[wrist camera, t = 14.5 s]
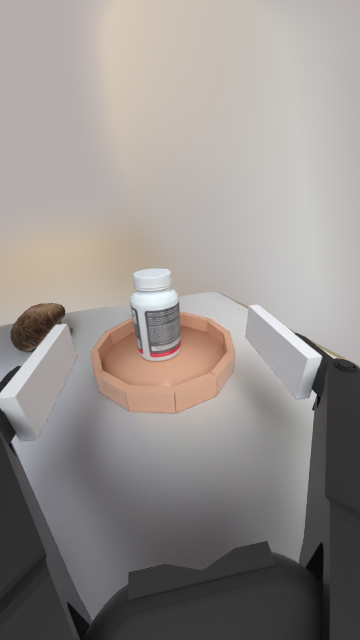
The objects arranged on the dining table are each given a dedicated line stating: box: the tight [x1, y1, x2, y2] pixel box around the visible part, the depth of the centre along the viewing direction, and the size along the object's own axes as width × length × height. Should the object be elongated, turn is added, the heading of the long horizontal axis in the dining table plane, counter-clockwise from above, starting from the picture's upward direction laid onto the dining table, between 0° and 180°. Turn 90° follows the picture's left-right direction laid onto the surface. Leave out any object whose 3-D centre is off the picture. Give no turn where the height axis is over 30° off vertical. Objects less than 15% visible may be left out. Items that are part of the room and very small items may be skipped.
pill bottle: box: [130, 268, 181, 361], centre depth 25 cm, size 5×5×10 cm
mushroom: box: [11, 303, 73, 351], centre depth 30 cm, size 8×8×6 cm
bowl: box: [90, 313, 235, 413], centre depth 26 cm, size 16×16×2 cm
